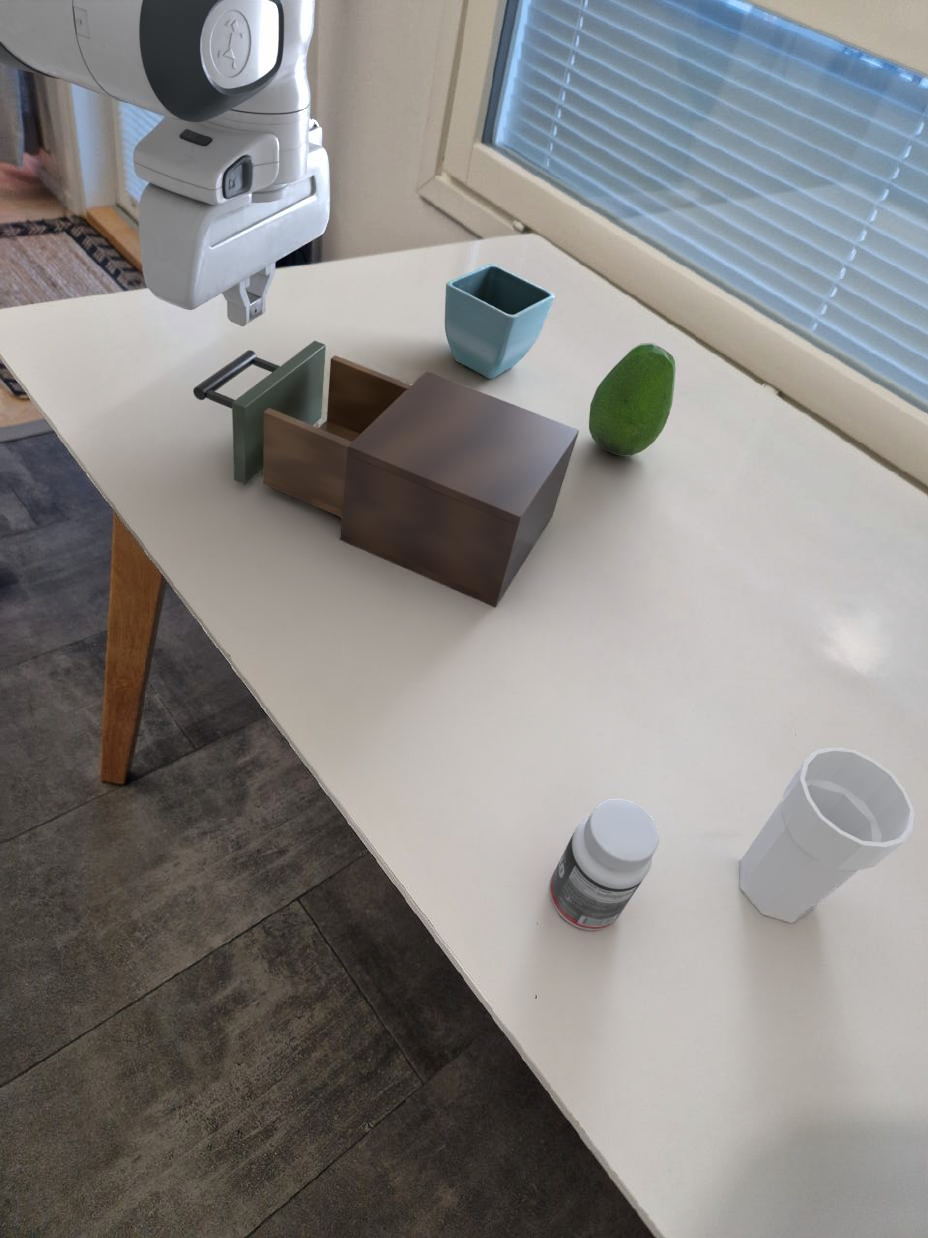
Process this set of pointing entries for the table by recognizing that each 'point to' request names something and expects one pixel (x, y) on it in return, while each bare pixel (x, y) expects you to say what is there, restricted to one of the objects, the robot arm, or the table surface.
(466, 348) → the flower pot
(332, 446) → the drawer
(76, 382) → the table surface
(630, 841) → the pill bottle
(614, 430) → the avocado
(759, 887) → the cup
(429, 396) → the cabinet
